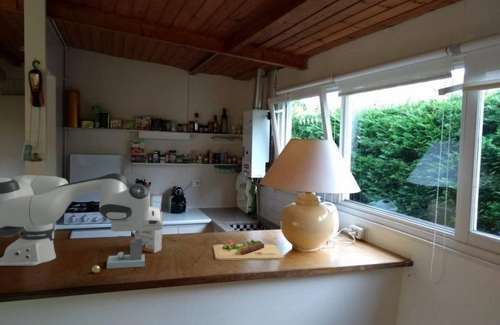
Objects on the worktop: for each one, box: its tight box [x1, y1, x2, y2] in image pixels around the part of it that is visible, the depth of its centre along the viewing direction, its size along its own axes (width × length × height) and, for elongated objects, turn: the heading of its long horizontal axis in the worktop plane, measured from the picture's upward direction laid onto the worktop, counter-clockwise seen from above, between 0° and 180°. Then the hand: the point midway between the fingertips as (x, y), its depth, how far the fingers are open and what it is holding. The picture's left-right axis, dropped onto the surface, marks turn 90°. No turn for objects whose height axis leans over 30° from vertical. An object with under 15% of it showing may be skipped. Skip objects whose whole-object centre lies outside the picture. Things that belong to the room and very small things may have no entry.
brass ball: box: [91, 264, 101, 274], centre depth 145 cm, size 3×3×3 cm
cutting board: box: [212, 238, 285, 261], centre depth 182 cm, size 35×23×8 cm
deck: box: [106, 253, 146, 270], centre depth 158 cm, size 16×10×2 cm, turn 108°
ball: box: [116, 251, 126, 259], centre depth 157 cm, size 3×3×3 cm
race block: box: [129, 238, 143, 260], centre depth 159 cm, size 5×6×8 cm
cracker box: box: [134, 211, 164, 254], centre depth 179 cm, size 14×6×21 cm, turn 62°
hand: (136, 233), depth 145 cm, fingers closed
